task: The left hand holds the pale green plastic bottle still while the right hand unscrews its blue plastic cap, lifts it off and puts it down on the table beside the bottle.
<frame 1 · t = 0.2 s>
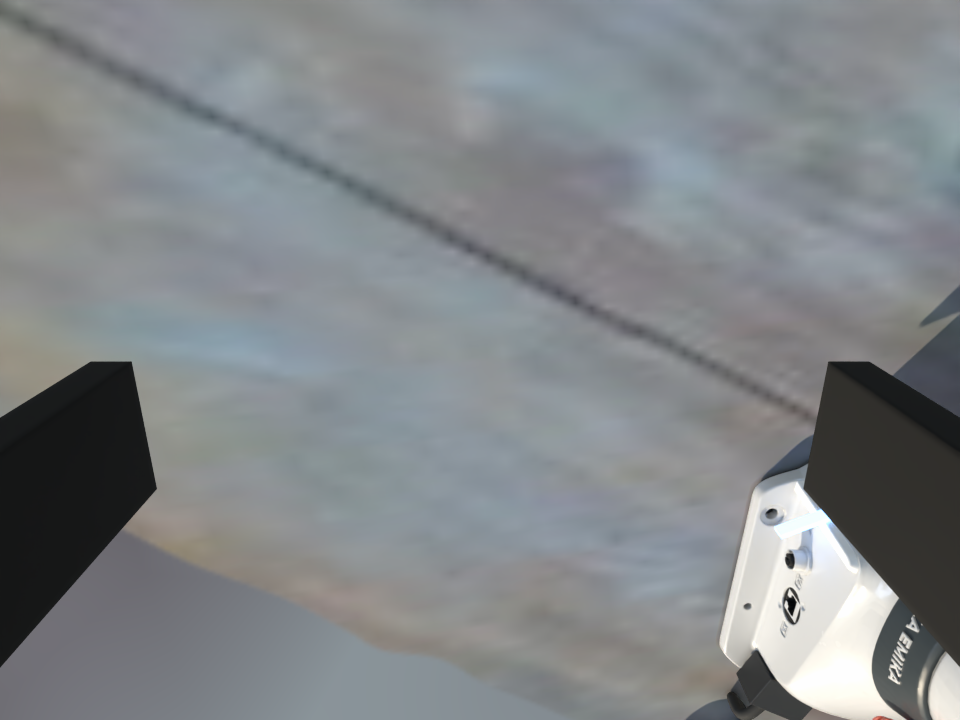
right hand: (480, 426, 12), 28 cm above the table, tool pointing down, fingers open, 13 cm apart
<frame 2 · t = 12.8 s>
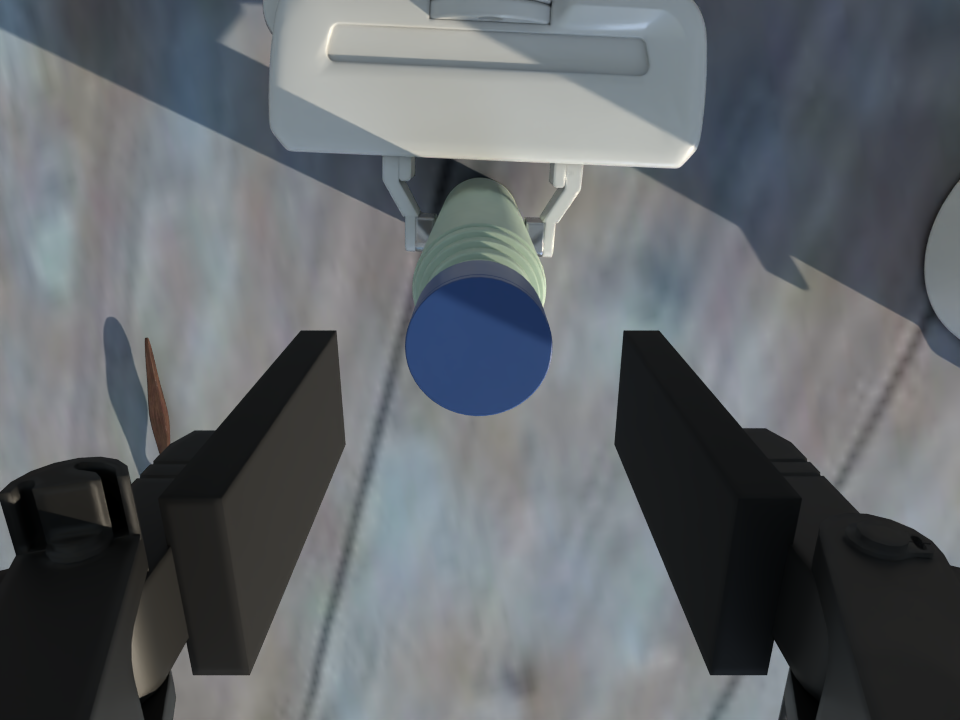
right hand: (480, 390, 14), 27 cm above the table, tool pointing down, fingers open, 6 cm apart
left hand: (479, 252, 34), fingers closed on bottle, 4 cm apart
cap: (478, 345, 17), point 24 cm above the table, screwed on, not yet turned
fork: (168, 443, 45), on the table
bottle: (479, 216, 40), on the table, touching left hand
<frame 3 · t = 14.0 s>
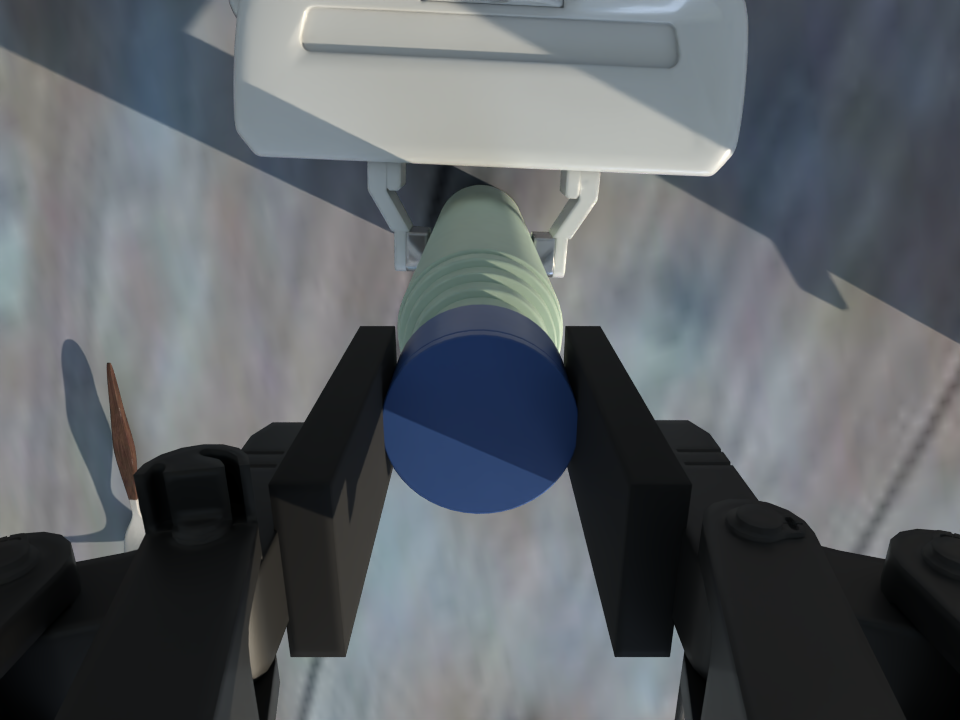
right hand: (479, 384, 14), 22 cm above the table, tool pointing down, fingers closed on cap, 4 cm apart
left hand: (480, 272, 29), fingers closed on bottle, 4 cm apart
cap: (480, 422, 13), point 24 cm above the table, screwed on, not yet turned, touching right hand
fork: (136, 477, 41), on the table
bottle: (480, 228, 35), on the table, touching left hand
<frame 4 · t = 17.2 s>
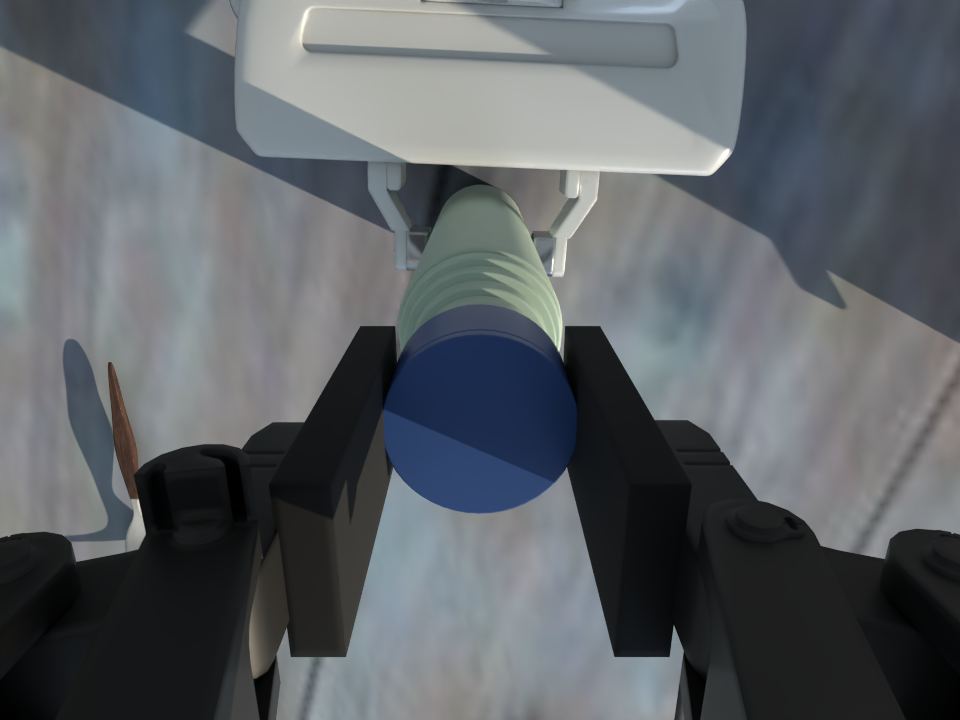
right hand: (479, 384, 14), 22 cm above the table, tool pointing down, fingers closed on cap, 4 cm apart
left hand: (480, 271, 29), fingers closed on bottle, 4 cm apart
cap: (480, 422, 13), point 24 cm above the table, turned 99° so far, risen 0.1 cm, still on its thread, touching right hand
fork: (137, 476, 41), on the table
bottle: (480, 228, 36), on the table, touching left hand
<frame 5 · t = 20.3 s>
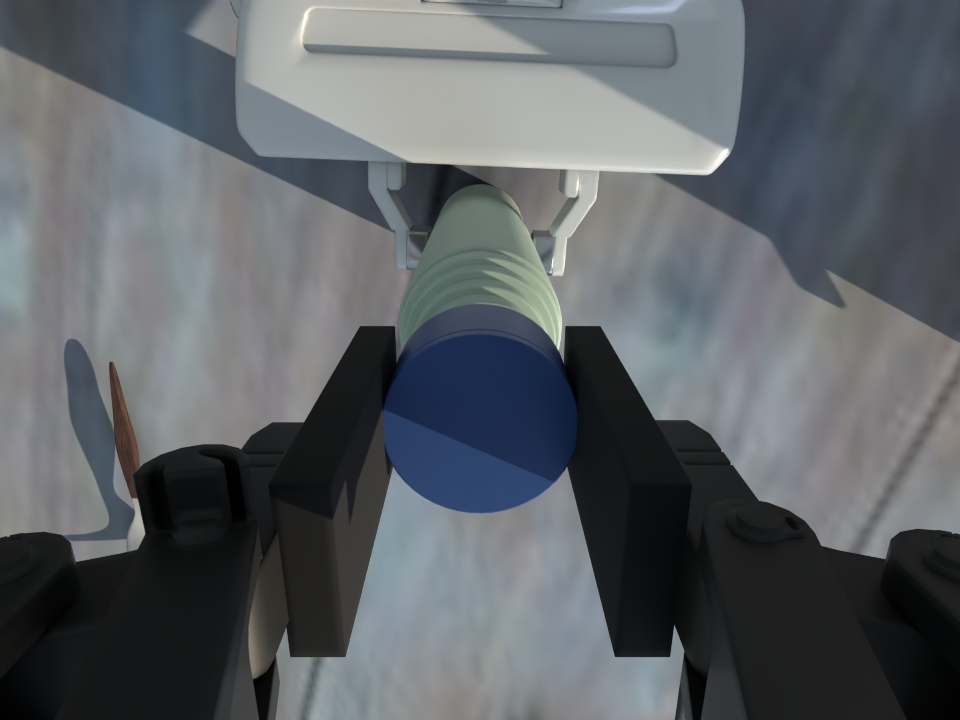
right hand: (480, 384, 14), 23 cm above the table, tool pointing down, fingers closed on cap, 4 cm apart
left hand: (480, 270, 30), fingers closed on bottle, 4 cm apart
cap: (480, 422, 13), point 24 cm above the table, turned 198° so far, risen 0.2 cm, still on its thread, touching right hand
fork: (138, 476, 41), on the table
bottle: (480, 227, 36), on the table, touching left hand
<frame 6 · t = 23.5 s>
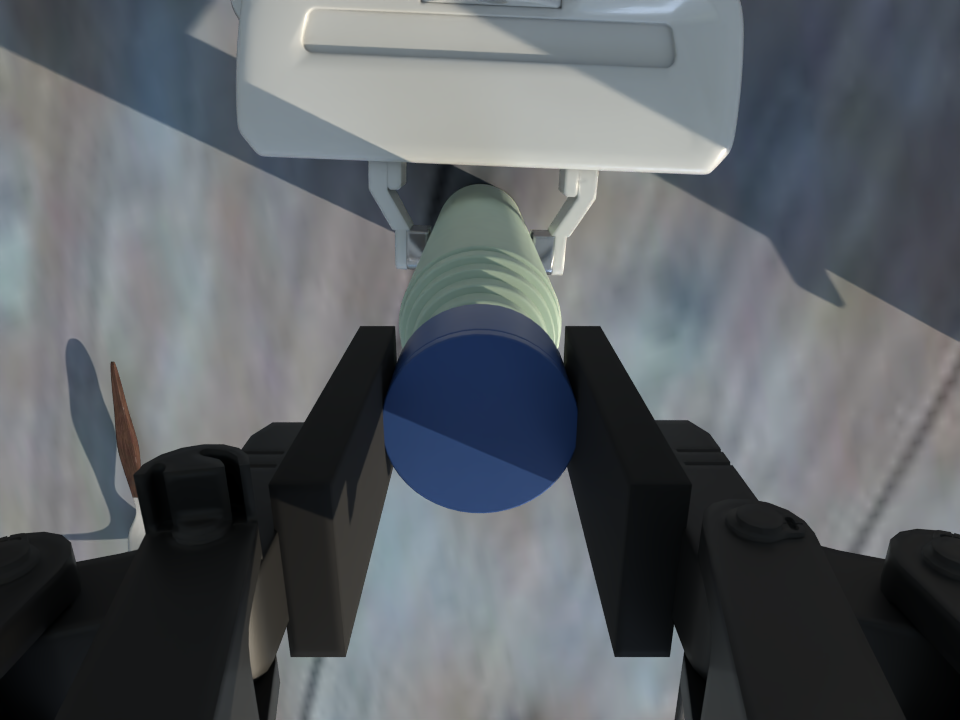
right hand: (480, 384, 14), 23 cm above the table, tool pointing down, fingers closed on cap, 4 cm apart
left hand: (480, 269, 30), fingers closed on bottle, 4 cm apart
cap: (480, 422, 13), point 25 cm above the table, turned 297° so far, risen 0.4 cm, still on its thread, touching right hand
fork: (139, 475, 41), on the table
bottle: (480, 227, 36), on the table, touching left hand
when the right hand's fingers open (1 cm above the table, at t = 30.0 s): cap drops 1 cm, point 2 cm above the table.
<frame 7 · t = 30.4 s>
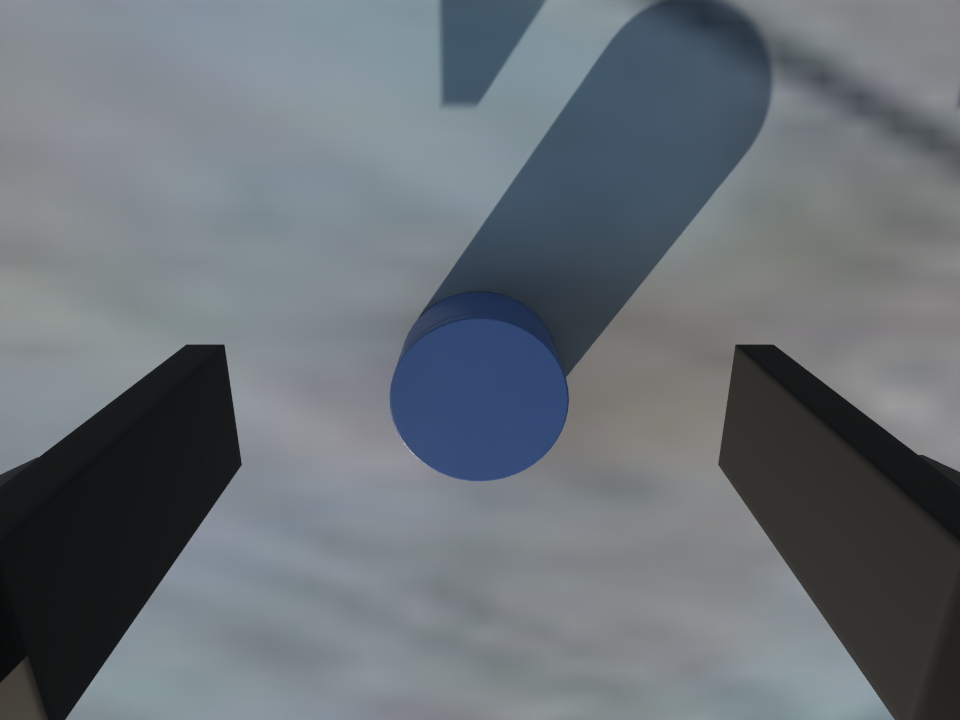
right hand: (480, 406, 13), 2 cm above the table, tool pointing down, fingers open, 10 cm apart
cap: (479, 397, 14), point 2 cm above the table, off its thread
when the left hand's fingers open (7 cm above the table, at t = 31.3 s): bottle stays where it is, on the table.
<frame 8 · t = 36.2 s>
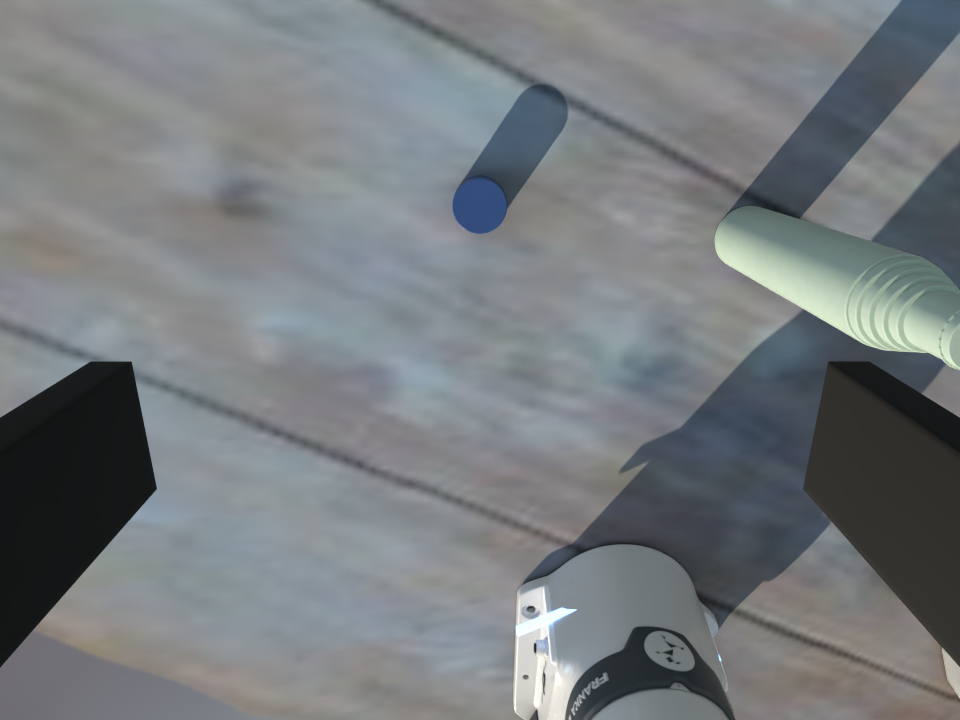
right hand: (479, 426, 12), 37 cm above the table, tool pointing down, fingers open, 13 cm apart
cap: (479, 205, 46), point 2 cm above the table, off its thread
bottle: (745, 237, 48), on the table
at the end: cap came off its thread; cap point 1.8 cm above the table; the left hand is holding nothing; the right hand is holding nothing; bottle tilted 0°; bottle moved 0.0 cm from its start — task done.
